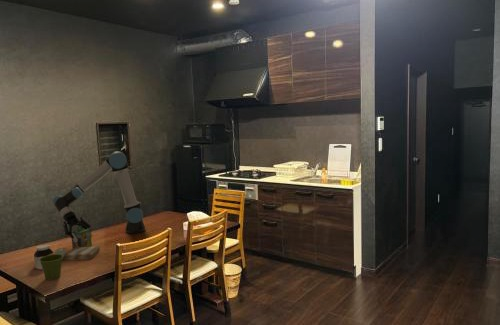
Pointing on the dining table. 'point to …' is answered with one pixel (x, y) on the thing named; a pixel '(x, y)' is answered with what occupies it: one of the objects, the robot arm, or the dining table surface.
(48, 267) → the plant pot
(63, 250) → the grey rounded cylinder
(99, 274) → the dining table surface
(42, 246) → the spread jar
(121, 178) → the robot arm
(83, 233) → the chalk box
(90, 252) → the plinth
